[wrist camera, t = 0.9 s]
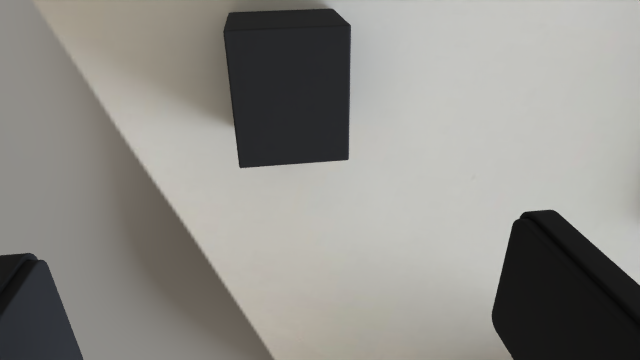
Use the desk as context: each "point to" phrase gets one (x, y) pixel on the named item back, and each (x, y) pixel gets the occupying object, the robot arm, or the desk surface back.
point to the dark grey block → (289, 85)
